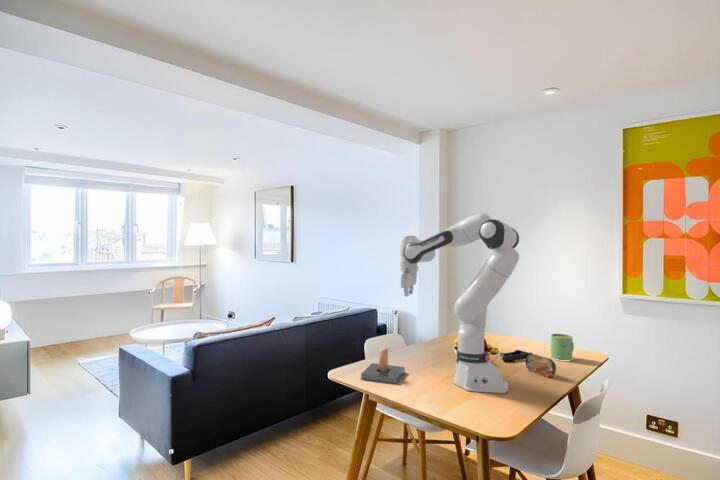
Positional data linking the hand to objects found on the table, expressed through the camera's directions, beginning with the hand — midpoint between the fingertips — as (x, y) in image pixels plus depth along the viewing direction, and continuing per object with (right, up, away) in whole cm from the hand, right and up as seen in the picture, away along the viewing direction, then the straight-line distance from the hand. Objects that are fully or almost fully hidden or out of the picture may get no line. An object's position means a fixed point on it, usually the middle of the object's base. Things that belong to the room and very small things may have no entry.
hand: (408, 295), depth 200 cm
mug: (+83, -35, +9) cm, 91 cm away
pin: (-14, -34, -21) cm, 42 cm away
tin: (+60, -35, -16) cm, 71 cm away
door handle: (+56, -35, +11) cm, 67 cm away
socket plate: (-14, -34, -21) cm, 42 cm away
